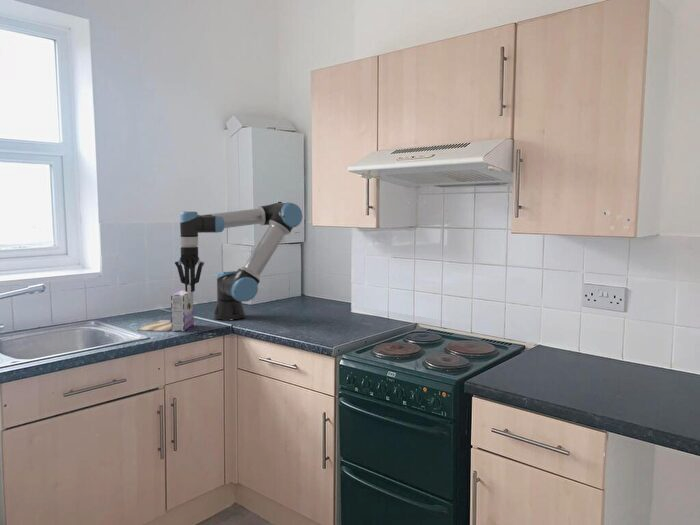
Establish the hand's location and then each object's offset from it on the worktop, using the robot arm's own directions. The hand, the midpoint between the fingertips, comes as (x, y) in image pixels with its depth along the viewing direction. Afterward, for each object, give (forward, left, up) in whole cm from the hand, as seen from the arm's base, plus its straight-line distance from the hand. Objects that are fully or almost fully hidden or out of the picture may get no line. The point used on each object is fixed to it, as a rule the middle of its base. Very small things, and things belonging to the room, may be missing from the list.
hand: (190, 298), depth 249 cm
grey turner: (+13, -12, -14) cm, 22 cm away
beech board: (+14, 0, -14) cm, 20 cm away
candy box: (+4, 0, -14) cm, 14 cm away
